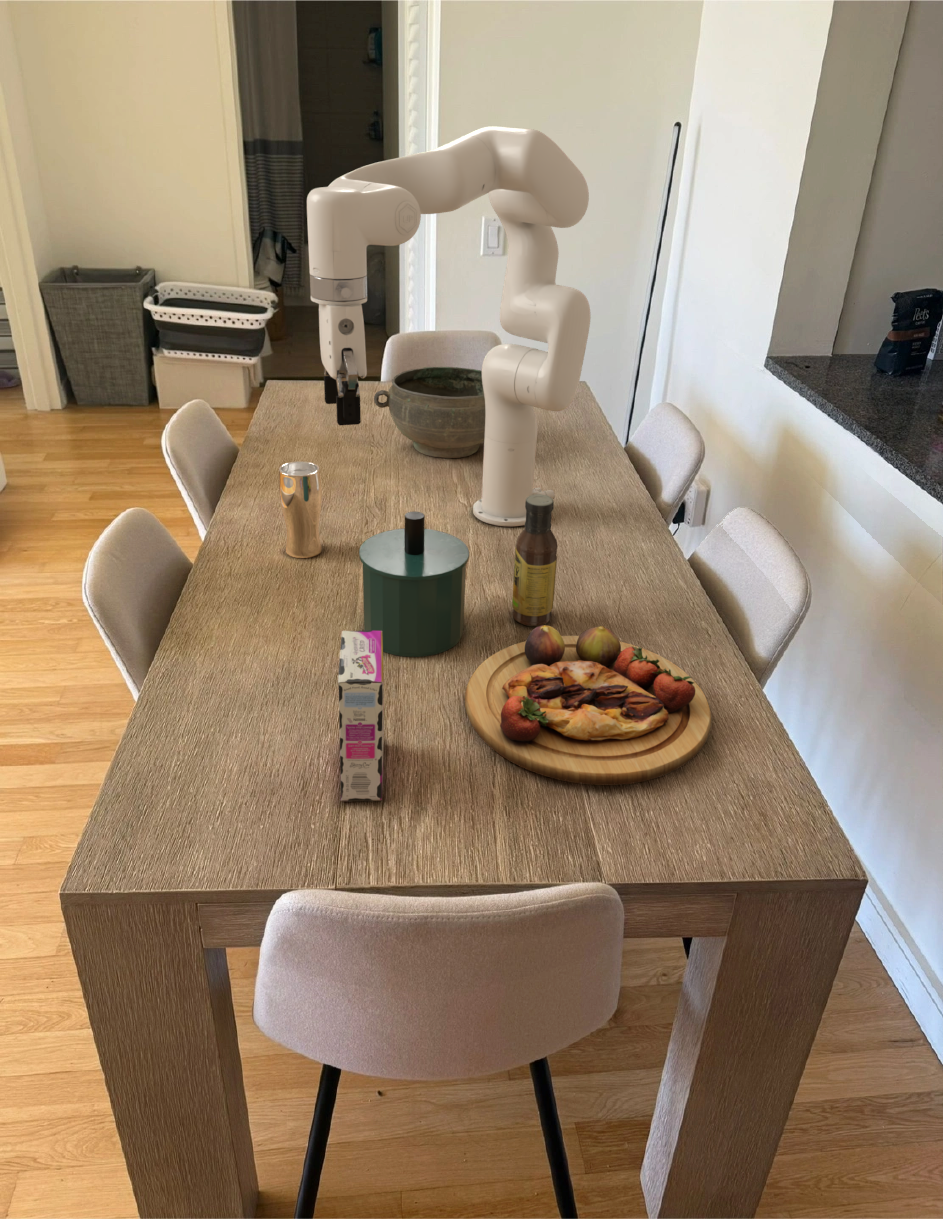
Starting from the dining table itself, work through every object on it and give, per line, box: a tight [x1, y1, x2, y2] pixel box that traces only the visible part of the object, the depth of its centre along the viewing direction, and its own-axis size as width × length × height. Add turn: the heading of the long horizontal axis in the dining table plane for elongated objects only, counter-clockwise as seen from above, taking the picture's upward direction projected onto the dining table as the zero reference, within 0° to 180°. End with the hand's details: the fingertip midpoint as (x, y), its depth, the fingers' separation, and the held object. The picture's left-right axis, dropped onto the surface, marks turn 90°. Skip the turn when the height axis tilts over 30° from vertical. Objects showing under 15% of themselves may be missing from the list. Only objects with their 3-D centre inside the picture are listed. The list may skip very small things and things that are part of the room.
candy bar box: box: [337, 630, 385, 802], centre depth 108 cm, size 11×5×16 cm, turn 5°
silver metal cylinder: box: [278, 460, 323, 559], centre depth 159 cm, size 7×7×15 cm
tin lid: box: [358, 510, 470, 580], centre depth 133 cm, size 16×16×7 cm
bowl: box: [373, 366, 485, 459], centre depth 206 cm, size 32×26×15 cm
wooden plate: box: [464, 624, 712, 786], centre depth 122 cm, size 32×32×8 cm
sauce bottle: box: [511, 494, 558, 627], centre depth 140 cm, size 6×6×20 cm
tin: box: [362, 564, 467, 658], centre depth 138 cm, size 15×15×13 cm
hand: (342, 413), depth 135 cm, fingers open, 9 cm apart
